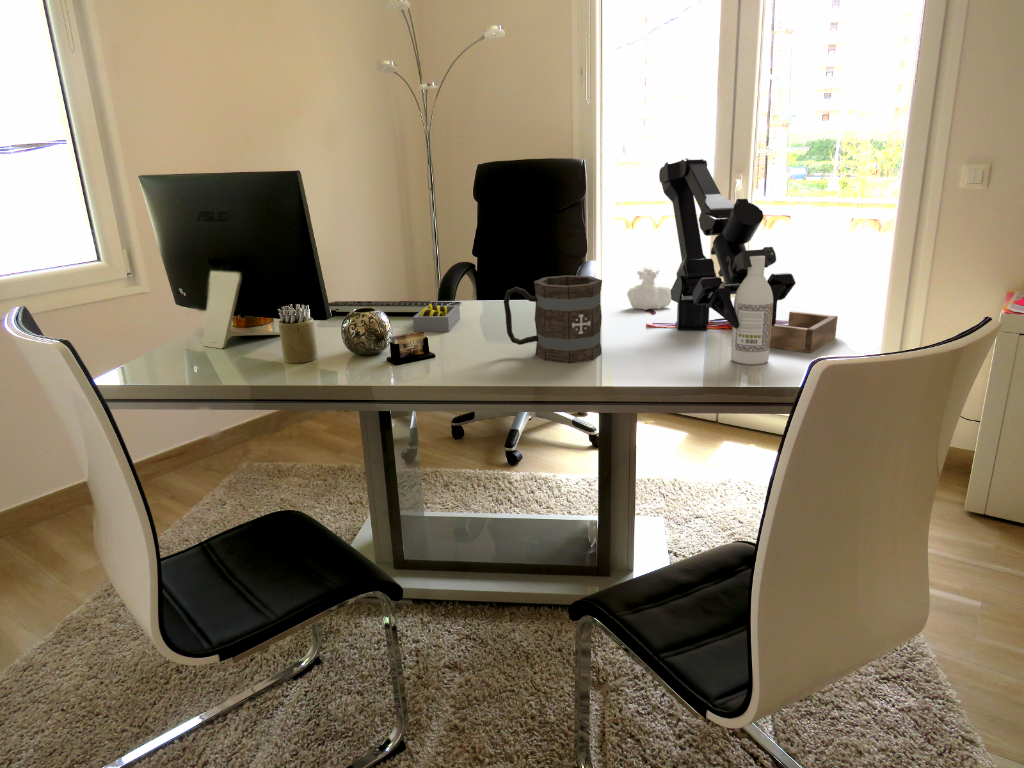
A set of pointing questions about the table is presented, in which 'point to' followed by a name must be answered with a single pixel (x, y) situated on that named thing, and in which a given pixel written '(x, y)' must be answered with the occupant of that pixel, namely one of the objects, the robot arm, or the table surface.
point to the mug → (563, 318)
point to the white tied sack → (649, 292)
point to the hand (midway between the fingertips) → (755, 325)
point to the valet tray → (437, 321)
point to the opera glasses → (434, 311)
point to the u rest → (804, 332)
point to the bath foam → (753, 316)
